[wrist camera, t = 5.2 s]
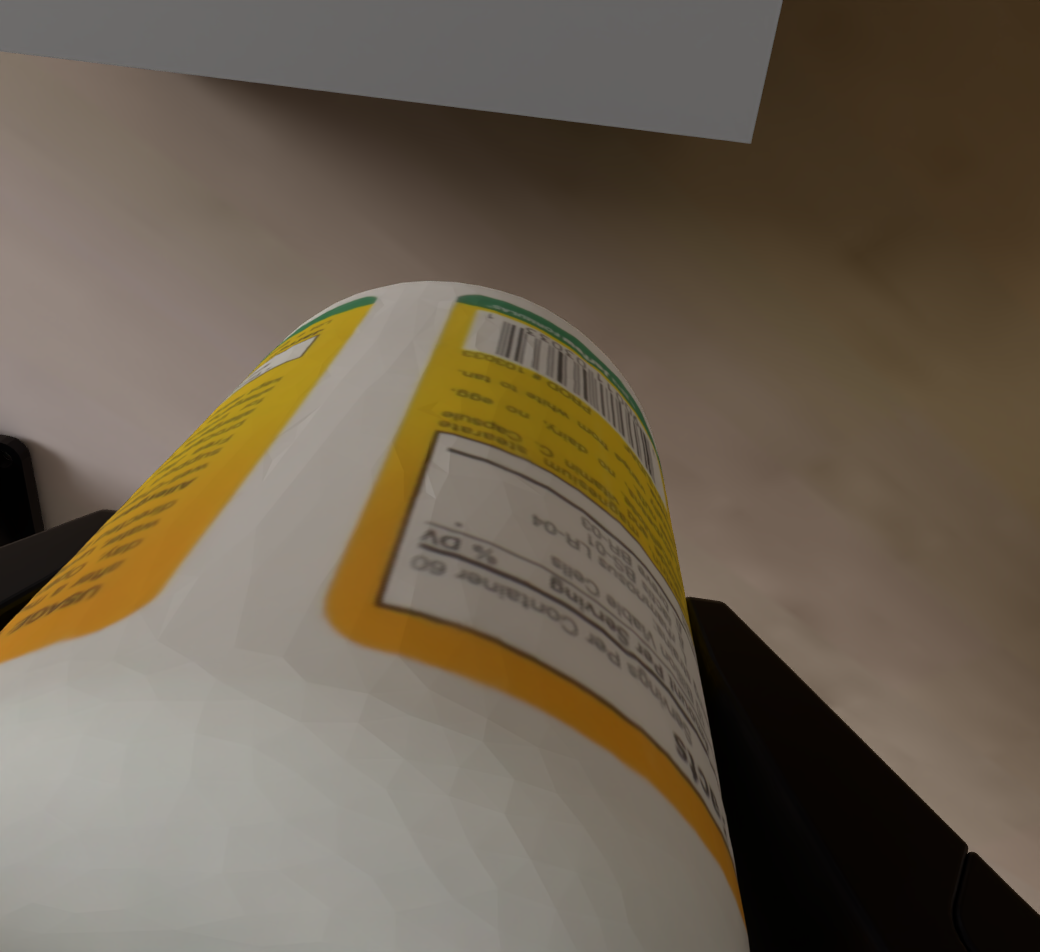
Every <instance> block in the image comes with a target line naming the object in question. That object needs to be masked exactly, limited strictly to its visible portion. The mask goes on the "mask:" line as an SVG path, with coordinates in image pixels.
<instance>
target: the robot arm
mask: <svg viewBox="0 0 1040 952" xmlns="http://www.w3.org/2000/svg"><path fill="white" fill-rule="evenodd" d="M2 451H3V452H6V453H7V454H8V455H10V457H11V459H12V461H11V460H8V459H7V458H6V457H5V456H4V455H3V453H2ZM116 512H117V511H115V510H108V509H106V510H99V511H97V512H94V513H91V514H88V515H86V516H83V517H80V518H78V519H75V520H72V521H69V522H67V523H64V524H61V525H59V526H56V527H53V528H51V529H48V530H45V531H44V526H43V521H42V516H41V510H40V505H39V499H38V494H37V489H36V483H35V478H34V472H33V467H32V462H31V456H30V453H29V451H28V448H27V447H26V446H25V445H24V444H23V442H21V441H20V440H18V439H17V438H14V437H11V436H6V435H0V632H1V631H2V630H3V629H4V627H5V626H6V625H7V624H8V623H9V622H10V621H11V620H12V619H13V618H14V617H15V616H16V615H17V614H18V613H19V612H20V611H21V610H22V609H23V608H24V607H25V606H26V605H27V604H28V603H29V602H30V600H31V599H32V598H33V597H34V596H35V595H36V594H37V593H38V592H39V591H40V590H41V589H42V588H43V587H44V586H45V585H46V584H47V583H48V582H49V581H50V580H51V579H52V578H53V577H54V576H55V575H56V574H57V573H58V572H59V571H60V570H61V569H62V568H63V567H64V566H65V565H66V564H67V563H68V562H69V561H70V560H71V559H72V558H73V557H74V556H75V555H76V554H77V553H78V552H79V551H80V550H81V548H82V547H83V546H84V545H85V544H86V543H87V542H88V541H89V540H90V539H91V538H92V537H93V536H94V535H95V534H96V533H97V532H98V530H99V529H100V528H101V527H102V526H103V525H104V524H105V523H106V522H107V521H108V520H109V519H110V518H111V517H112V516H113V515H114V514H115V513H116ZM686 604H687V610H688V616H689V622H690V627H691V632H692V637H693V642H694V647H695V652H696V658H697V663H698V669H699V674H700V679H701V685H702V690H703V695H704V700H705V705H706V710H707V716H708V721H709V727H710V732H711V738H712V743H713V749H714V754H715V760H716V766H717V771H718V777H719V783H720V789H721V796H722V802H723V806H724V810H725V813H726V818H727V824H728V831H729V837H730V841H731V846H732V850H733V855H734V861H735V867H736V874H737V880H738V886H739V891H740V896H741V902H742V907H743V912H744V917H745V923H746V928H747V933H748V941H749V949H750V952H1040V915H1039V914H1038V913H1037V912H1036V911H1035V910H1034V909H1033V908H1032V907H1031V906H1030V905H1029V904H1028V903H1026V902H1025V901H1024V900H1023V899H1022V898H1021V897H1020V896H1019V895H1018V894H1017V893H1016V892H1015V891H1014V890H1013V889H1012V888H1011V887H1010V886H1009V885H1008V884H1007V883H1006V882H1005V881H1004V880H1003V879H1002V878H1001V877H1000V876H999V875H998V874H997V873H996V872H995V871H994V870H993V869H992V868H991V867H990V866H989V865H988V864H987V863H986V862H985V861H984V860H983V859H982V858H981V857H980V856H979V855H978V854H977V853H975V852H969V853H968V846H967V844H966V843H965V842H964V841H963V840H962V839H961V838H960V837H959V836H958V835H957V834H956V833H955V832H954V831H953V830H952V829H951V828H950V827H949V826H948V825H947V824H946V823H945V822H944V821H943V820H942V819H941V818H940V817H939V816H938V815H937V814H936V813H935V812H934V811H933V810H932V809H931V808H930V807H929V806H928V805H927V804H926V803H925V802H924V801H923V800H922V799H921V798H920V797H919V796H918V795H917V794H916V793H915V792H914V791H913V790H912V789H911V788H910V787H909V786H908V785H907V784H906V783H905V782H904V781H903V780H902V779H901V778H900V777H899V776H898V775H897V774H896V773H895V772H894V771H893V770H892V769H891V768H890V767H889V766H888V765H887V764H886V763H885V762H884V761H883V760H882V759H881V758H880V757H879V756H878V755H877V754H876V753H875V752H874V751H873V750H872V749H871V748H870V747H869V746H868V745H867V744H866V743H865V742H864V741H863V740H862V739H861V738H860V737H859V736H858V735H857V734H856V733H855V732H854V731H853V730H852V729H851V728H850V727H849V726H848V725H847V724H846V723H845V722H844V721H843V720H842V719H841V718H840V717H839V716H838V715H837V714H836V713H835V712H834V711H833V710H832V709H831V708H830V707H829V706H828V705H827V704H826V703H825V702H824V701H823V700H822V699H821V698H820V697H819V696H818V695H817V694H816V693H815V692H814V691H813V690H812V689H811V688H810V687H809V686H808V685H807V684H806V683H805V682H804V681H803V680H802V679H801V678H800V677H799V676H798V675H797V674H796V673H795V672H794V671H793V670H792V669H791V668H790V667H789V666H788V665H787V664H786V663H785V662H784V661H783V660H782V659H781V658H779V657H778V656H777V655H776V654H775V653H774V652H773V651H772V650H771V649H770V648H769V647H768V646H767V645H766V644H765V643H764V642H763V641H762V640H761V639H760V638H759V637H758V636H757V635H756V634H755V633H754V632H753V631H752V630H751V629H750V628H749V627H748V626H747V625H746V624H745V623H744V622H743V621H742V620H741V619H740V618H739V617H738V616H737V615H736V614H735V613H734V612H733V611H732V610H731V609H730V608H729V607H728V606H727V605H726V604H725V603H723V602H720V601H715V600H708V599H701V598H694V597H686ZM967 853H968V854H967Z"/></svg>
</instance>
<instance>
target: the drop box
mask: <svg viewBox="0 0 1040 952" xmlns="http://www.w3.org/2000/svg"><path fill="white" fill-rule="evenodd" d="M782 1H783V0H0V51H3V52H11V53H19V54H27V55H36V56H44V57H52V58H60V59H68V60H76V61H84V62H92V63H101V64H109V65H117V66H125V67H133V68H141V69H149V70H157V71H165V72H174V73H182V74H190V75H198V76H206V77H214V78H222V79H230V80H239V81H247V82H255V83H263V84H271V85H279V86H287V87H295V88H303V89H312V90H320V91H328V92H336V93H344V94H352V95H360V96H368V97H377V98H385V99H393V100H401V101H409V102H417V103H425V104H433V105H442V106H450V107H458V108H466V109H474V110H482V111H490V112H498V113H506V114H515V115H523V116H531V117H539V118H547V119H555V120H563V121H571V122H580V123H588V124H596V125H604V126H612V127H620V128H628V129H636V130H644V131H653V132H661V133H669V134H677V135H685V136H693V137H701V138H709V139H718V140H726V141H734V142H742V143H750V144H751V140H752V136H753V131H754V127H755V122H756V118H757V113H758V109H759V105H760V100H761V96H762V91H763V87H764V82H765V78H766V73H767V69H768V64H769V60H770V55H771V51H772V46H773V42H774V37H775V33H776V28H777V24H778V19H779V15H780V10H781V6H782Z"/></svg>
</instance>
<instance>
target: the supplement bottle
mask: <svg viewBox="0 0 1040 952" xmlns="http://www.w3.org/2000/svg"><path fill="white" fill-rule="evenodd" d="M0 952H750V949H749V941H748V933H747V928H746V923H745V917H744V912H743V907H742V902H741V896H740V891H739V886H738V880H737V874H736V867H735V861H734V855H733V850H732V846H731V841H730V837H729V831H728V824H727V818H726V813H725V810H724V806H723V802H722V796H721V789H720V783H719V777H718V771H717V766H716V760H715V754H714V749H713V743H712V738H711V732H710V727H709V721H708V716H707V710H706V705H705V700H704V695H703V690H702V685H701V679H700V674H699V669H698V663H697V658H696V652H695V647H694V642H693V637H692V632H691V627H690V622H689V616H688V610H687V604H686V598H685V592H684V587H683V582H682V577H681V572H680V567H679V562H678V556H677V550H676V544H675V540H674V535H673V530H672V525H671V519H670V513H669V508H668V502H667V495H666V491H665V485H664V479H663V475H662V470H661V465H660V460H659V456H658V452H657V449H656V445H655V441H654V437H653V434H652V430H651V428H650V425H649V423H648V421H647V418H646V416H645V413H644V411H643V409H642V406H641V404H640V403H639V401H638V399H637V397H636V395H635V394H634V392H633V390H632V388H631V387H630V385H629V384H628V382H627V381H626V379H625V378H624V376H623V375H622V374H621V373H620V372H619V370H618V369H617V368H616V367H615V365H614V364H613V363H612V362H611V360H610V359H609V358H608V357H607V356H606V355H605V354H604V353H603V352H602V351H601V350H600V349H599V348H598V347H597V346H596V345H595V344H594V343H593V342H592V341H591V340H589V339H588V338H587V337H586V336H585V335H584V334H583V333H581V332H580V331H579V330H578V329H576V328H575V327H574V326H572V325H571V324H570V323H568V322H567V321H565V320H563V319H562V318H560V317H559V316H557V315H556V314H554V313H552V312H551V311H549V310H548V309H546V308H544V307H541V306H539V305H537V304H535V303H533V302H531V301H529V300H526V299H524V298H522V297H519V296H516V295H513V294H510V293H506V292H503V291H500V290H496V289H492V288H487V287H483V286H478V285H471V284H465V283H458V282H442V281H420V282H407V283H399V284H394V285H390V286H385V287H380V288H376V289H372V290H368V291H365V292H362V293H359V294H355V295H353V296H351V297H348V298H346V299H344V300H342V301H339V302H337V303H335V304H333V305H331V306H330V307H328V308H326V309H325V310H323V311H321V312H320V313H318V314H316V315H315V316H313V317H312V318H311V319H309V320H308V321H306V322H305V323H303V324H302V325H300V326H299V327H298V328H297V329H296V330H295V331H294V332H292V333H291V334H290V335H289V336H288V337H287V338H286V339H285V340H284V341H283V342H282V343H281V344H280V345H279V346H277V347H276V348H275V349H274V350H273V351H272V352H271V353H270V354H269V355H268V356H267V357H266V358H265V359H264V360H263V361H262V362H261V363H260V364H259V365H258V366H257V367H256V368H255V369H254V370H253V371H252V372H251V373H250V375H249V376H248V377H247V378H246V379H245V380H244V381H243V382H242V383H241V384H240V385H239V386H238V387H237V388H236V389H235V390H234V391H233V392H232V393H231V394H230V395H229V396H228V397H227V399H226V400H225V401H224V402H223V403H222V404H221V405H220V406H219V407H218V408H217V409H216V410H215V411H214V412H213V413H212V414H211V415H210V416H209V417H208V418H207V419H206V420H205V421H204V422H203V424H202V425H201V426H200V427H199V428H198V429H197V430H196V431H195V432H194V433H193V434H192V435H191V436H190V437H189V438H188V439H187V440H186V441H185V442H184V443H183V444H182V445H181V446H180V447H179V448H178V449H177V450H176V451H175V452H174V453H173V455H172V456H171V457H170V458H169V459H168V460H167V461H166V462H165V463H164V464H163V465H162V466H161V467H160V468H159V469H158V470H157V471H156V472H155V473H154V474H153V475H152V476H151V477H150V478H149V479H148V480H147V481H146V482H145V483H144V484H143V485H142V486H141V487H140V488H139V489H138V490H137V491H136V492H135V493H134V494H133V495H132V496H131V497H130V498H129V500H128V501H127V502H126V503H125V504H124V505H123V506H122V507H121V508H120V509H119V510H118V511H117V512H116V513H115V514H114V515H113V516H112V517H111V518H110V519H109V520H108V521H107V522H106V523H105V524H104V525H103V526H102V527H101V528H100V529H99V530H98V532H97V533H96V534H95V535H94V536H93V537H92V538H91V539H90V540H89V541H88V542H87V543H86V544H85V545H84V546H83V547H82V548H81V550H80V551H79V552H78V553H77V554H76V555H75V556H74V557H73V558H72V559H71V560H70V561H69V562H68V563H67V564H66V565H65V566H64V567H63V568H62V569H61V570H60V571H59V572H58V573H57V574H56V575H55V576H54V577H53V578H52V579H51V580H50V581H49V582H48V583H47V584H46V585H45V586H44V587H43V588H42V589H41V590H40V591H39V592H38V593H37V594H36V595H35V596H34V597H33V598H32V599H31V600H30V602H29V603H28V604H27V605H26V606H25V607H24V608H23V609H22V610H21V611H20V612H19V613H18V614H17V615H16V616H15V617H14V618H13V619H12V620H11V621H10V622H9V623H8V624H7V625H6V626H5V627H4V629H3V630H2V631H1V632H0Z"/></svg>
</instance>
